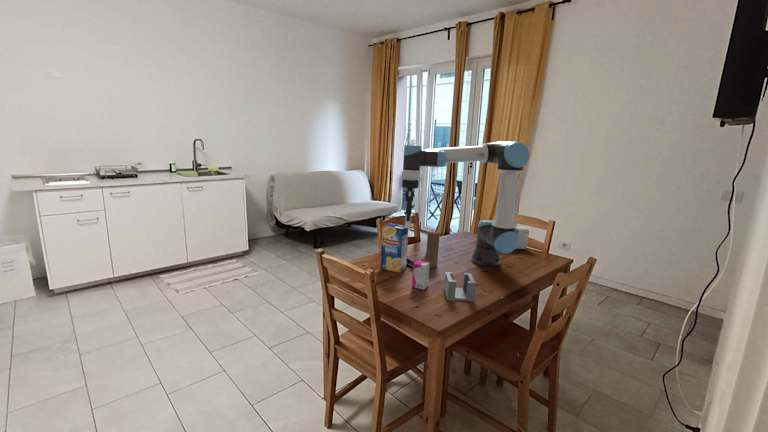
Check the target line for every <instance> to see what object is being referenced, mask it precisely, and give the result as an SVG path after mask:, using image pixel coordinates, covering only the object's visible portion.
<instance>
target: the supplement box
mask: <svg viewBox="0 0 768 432" xmlns="http://www.w3.org/2000/svg"><path fill="white" fill-rule="evenodd" d="M429 264H430V262H425V261H420V260H419V259H417V260H416V261H415V262H414V263H413V266H412V281H411V283H412V284H411V285H412V286H411V289H414V290H418V291H426V289H427V288H428V287H429V278H430V277H429V275H430V269H429Z"/></svg>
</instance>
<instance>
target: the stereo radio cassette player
mask: <svg viewBox="0 0 768 432" xmlns="http://www.w3.org/2000/svg"><path fill="white" fill-rule="evenodd" d="M522 218H524V216H522V217H520V218H517V219H514V220H513V223H514V222H516V221H518V220H521V219H522ZM515 226H516V231H515V233H516V234H517V236H518V238H519V243H518V246H517V247H516V249H515V250H523V249H524V250H526V249H527V248H528V243H529V235H530V229H529V228H528V227H525V226H517V225H515Z"/></svg>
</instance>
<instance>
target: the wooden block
mask: <svg viewBox="0 0 768 432" xmlns="http://www.w3.org/2000/svg"><path fill="white" fill-rule="evenodd" d="M440 237H441V235H440V232H439V231H438V232H437V231H435V230H432V231H428V232H427V237H426V238H427V239H426V251H425V255H424V256H423V257H422V258H421V259H420V260H419V261H425V262H430V264H429V270H430V269H433V268H435V267H438V259H439V257H438V256H439V248H440V247H439V246H440Z"/></svg>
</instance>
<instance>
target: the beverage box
mask: <svg viewBox="0 0 768 432" xmlns="http://www.w3.org/2000/svg"><path fill="white" fill-rule="evenodd" d="M381 233H382V234H381V253H380V255H381V256H380V269H383V270H385V271H390V272H391V271H392V272H395V273H402V272H403V271H406V269H407V258H408V245H409V243H408V242H409V241H408V240H409V228H405V224H397V223H391V222H388V223H385V224H383V225H382V232H381Z"/></svg>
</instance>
